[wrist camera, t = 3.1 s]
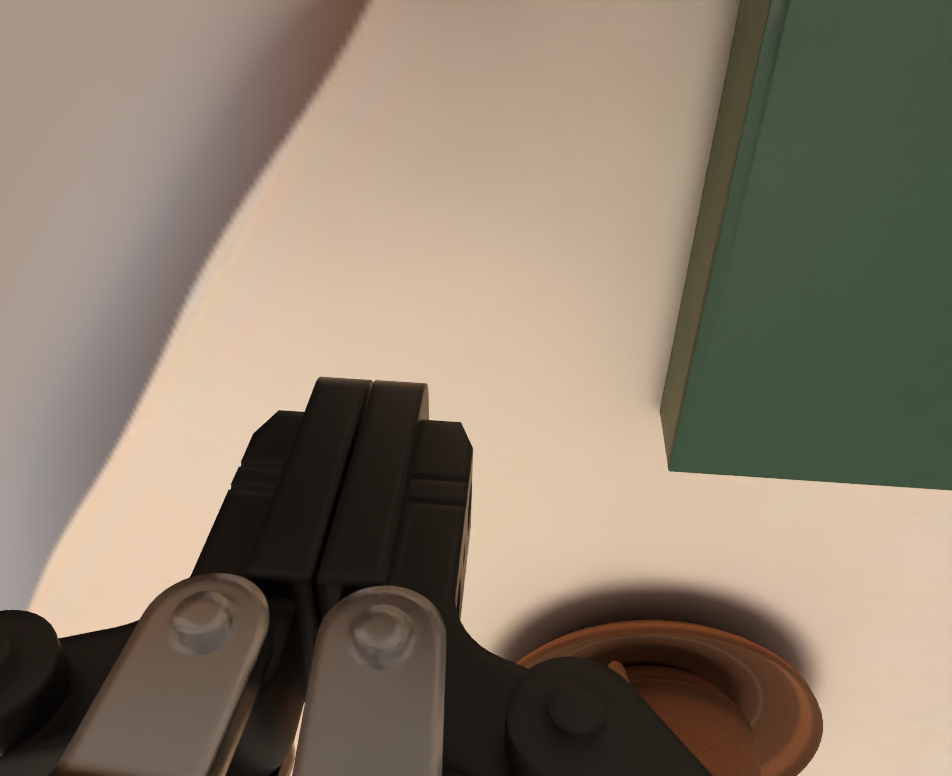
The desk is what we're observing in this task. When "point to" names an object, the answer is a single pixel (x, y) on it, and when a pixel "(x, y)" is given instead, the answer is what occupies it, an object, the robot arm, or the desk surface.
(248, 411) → the desk surface
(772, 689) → the cup and saucer
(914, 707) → the desk surface
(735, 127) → the book
